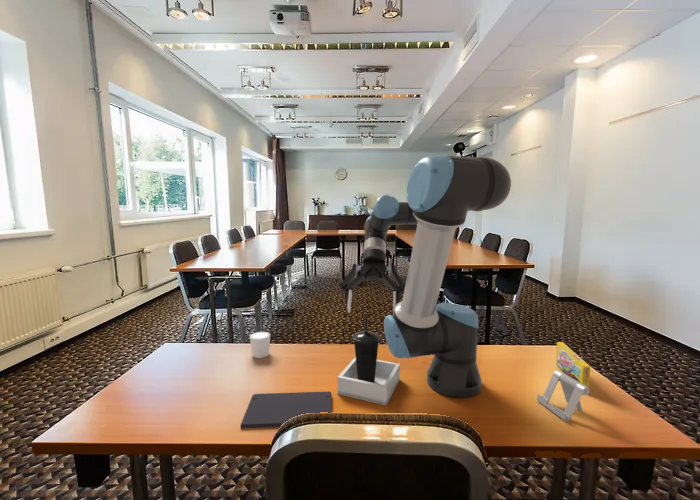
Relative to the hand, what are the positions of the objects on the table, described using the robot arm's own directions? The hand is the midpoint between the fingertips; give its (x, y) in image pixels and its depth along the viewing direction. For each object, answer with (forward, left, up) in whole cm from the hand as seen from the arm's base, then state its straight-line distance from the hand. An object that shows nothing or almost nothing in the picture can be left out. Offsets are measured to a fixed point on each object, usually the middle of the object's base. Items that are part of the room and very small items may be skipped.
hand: (371, 311), depth 100 cm
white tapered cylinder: (+40, +1, -20) cm, 45 cm away
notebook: (+13, +25, -21) cm, 35 cm away
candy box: (-56, -21, -20) cm, 63 cm away
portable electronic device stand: (-51, -3, -20) cm, 55 cm away
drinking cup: (-1, +6, -19) cm, 20 cm away
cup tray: (-2, +6, -20) cm, 21 cm away
